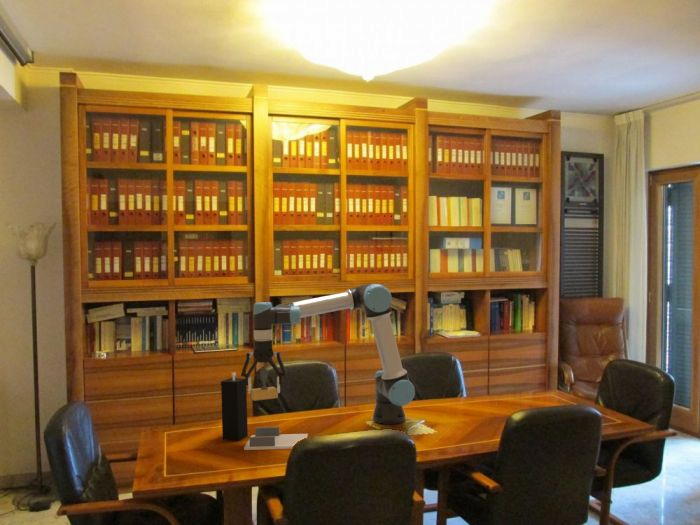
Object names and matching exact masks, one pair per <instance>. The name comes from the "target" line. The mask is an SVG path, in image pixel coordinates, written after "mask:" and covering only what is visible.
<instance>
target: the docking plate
mask: <svg viewBox="0 0 700 525" xmlns="http://www.w3.org/2000/svg"><path fill="white" fill-rule="evenodd" d="M254 431H255V434H252V435H250V437H249V439H248V440H247V442H246V443H245V446H244V447H243V448H244V449H243V450H244V451H256V450H257V451H260V450H262V451H263V450H264V451H265V450H290V449H291V450H293V449H292V447H293V446H294V445H295V444H296V443H297V442H298V441H300V440H302V439H304V438H307V437H309V433H292V434H291V433H290V434H289V433H288V434H287V433H284V434H280V427H279V426H260V427H259V426H258V427H257V426H256V427H255V430H254ZM307 439H308V438H307Z"/></svg>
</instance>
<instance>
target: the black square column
mask: <svg viewBox="0 0 700 525" xmlns="http://www.w3.org/2000/svg"><path fill="white" fill-rule="evenodd" d="M236 375H237V372H234V371H233V372H231V377H230V378H226V379H224V380H222V381H220V388H221V389H220V390H221V394H220V395H221V396H220V397H221V422H222V424H221V426H222V428H221V429H222V430H221V431H222V432H221V433H222V441H223V440H224V441H232V442H240V441H241V440H243V439H244V438H246V437H248V436H249V435H248V430H249V429H248V427H249V426H248V399H247V398H248V396H247V393H248V392H247V390H248V389H247V385H246V378H245V377H244V378H242V377H240V378H239V377H236Z"/></svg>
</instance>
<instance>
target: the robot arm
mask: <svg viewBox="0 0 700 525" xmlns="http://www.w3.org/2000/svg"><path fill="white" fill-rule="evenodd" d="M392 299H393V298H392V294H391V292H390V290H389V289H388V287H386V286H384V285H382V284H379V283H366V284H365V283H364V284H362V285H359V286H356V287H351V288H348V289H346V290H345V291H344V292H339V293H334V294H328V295H324V296H319V297H314V298H308V299H302V300H298V301H293V302H288V303H280V304H277V305H276V306H273V304H272V302H271V301H270V302H268V301H265V302H263V301H262V302H255V303H254V304H253V312H252V313H253V314H252V315H253V339H254V341H253V352H250V351H249V352H246V354H245V355H246V358H245V362H244V365H243V368H242V370H241V373H240V376H241V377H244V378H246V386H248V389H247V390H248V392H247V393H248V395H251V389H252V376H250V375H251V374H252V372H253V371H254V370H255V368H256V366H257V365H258V364H262V363H269V365H270V366H271V367H272V369H273V370H274V372H275V373H276V375H277V377H276V388H277V393H278V394H280V393H281V386H282V384H283V376H286V375H287V374H288V373H287V370H286V367H285V364H284V363H283V360H282V357H281V351H274V350H273V340H272V339H273V326H277V325H296V324H297V325H298V324H300V323H301V320H302V318H308V317H312V316H317V315H321V314H327V313H333V312H336V311H342V310H347V309H350V310H351V311H352V310H354V311H355V310H361V309H362V310H363V311H364V314H365V318H366V319H368V320H369V321H370V323H371V328H372V332H373V335H374V339H375V343H376V347H377V352H378V355H379V359H380V363H381V367H382V370H377V371H376V372H375V376H374V381H375V406H374V409H373V413H372V422H374V421H375V422H374V423H376V422H379V423H378V424H380V423H383V424H382V425H396V424H397V425H398V424H402V423H404V422H405V421H406V412H405V410H404V408H403V406H407V405H409V404H410V403H411V402H412V401H413V400H414V398H415V395H416V390H415V388H416V387H415V385H414V384H413V383H412V382H411V381H410V379H409V374H408V371H407V369H405V368H403V367H404V366H403V365H402V360H401V356H400V351H399V348H398V345H397V340H396V336H395V332H394V328H393V325H392V320H391V317H390V316H391V314H392V312H393V310H392V306H391V305H392V302H393V300H392ZM274 356H275V358H276V360H277V362H278V365H279V367H280V368H279V367H278V366H277V364H276V363H275V361H274V360H273V357H274ZM253 357H254V358H255V360H254V362H253V363H252V365H251V366H250V368H249V370H248V371H247V369H248V366H249V364H250V362H251V361H250V360H251V358H253ZM280 369H281V370H280ZM403 421H404V422H403Z"/></svg>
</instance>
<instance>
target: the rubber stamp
mask: <svg viewBox="0 0 700 525" xmlns="http://www.w3.org/2000/svg"><path fill="white" fill-rule="evenodd" d="M259 376H260V380H261V382H262V386H261V387H258V388H251V394H250V398H251V400H253V401H255V402H256V401H264V400H272V399H278V397H279V393H277V387H275V386H267V385H266V383H267V380H268V378H269V371H268V370H267V369H266V368H262V369H261V370H260V371H259Z"/></svg>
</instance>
